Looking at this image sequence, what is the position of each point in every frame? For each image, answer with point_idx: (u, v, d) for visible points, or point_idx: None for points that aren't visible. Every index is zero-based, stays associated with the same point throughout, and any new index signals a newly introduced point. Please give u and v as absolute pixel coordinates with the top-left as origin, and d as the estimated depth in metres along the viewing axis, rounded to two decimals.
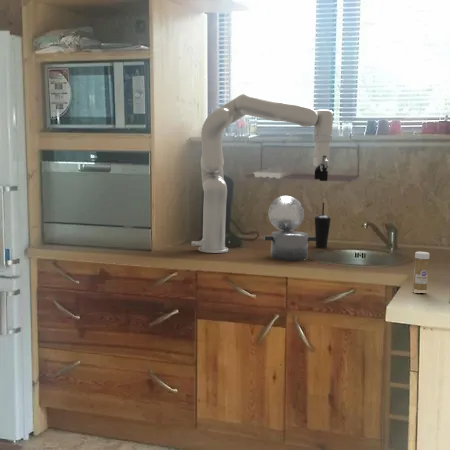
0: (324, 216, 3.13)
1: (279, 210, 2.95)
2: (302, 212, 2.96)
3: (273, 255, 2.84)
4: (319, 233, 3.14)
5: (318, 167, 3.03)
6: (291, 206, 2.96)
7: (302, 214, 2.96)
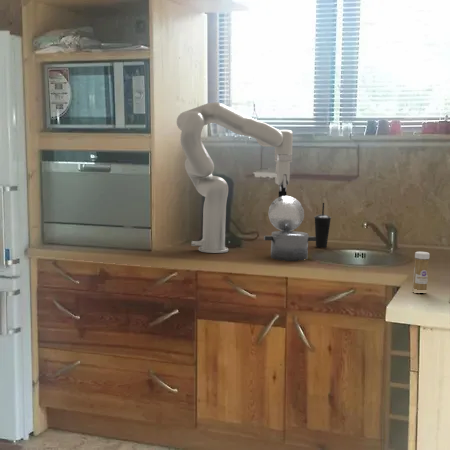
0: (324, 216, 3.13)
1: (279, 210, 2.95)
2: (302, 212, 2.96)
3: (273, 255, 2.84)
4: (319, 233, 3.14)
5: None
6: (291, 206, 2.96)
7: (302, 214, 2.96)
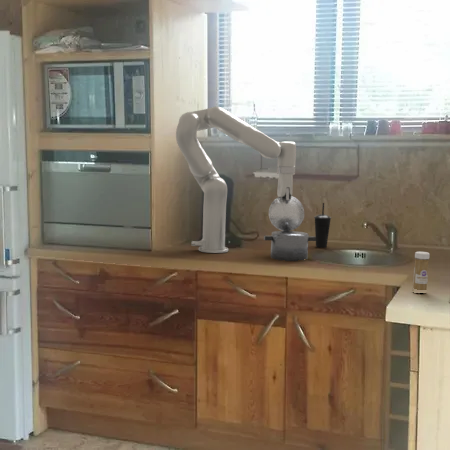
0: (324, 216, 3.13)
1: (279, 210, 2.94)
2: (302, 212, 2.95)
3: (273, 255, 2.84)
4: (319, 233, 3.14)
5: None
6: (292, 206, 2.95)
7: (302, 214, 2.95)
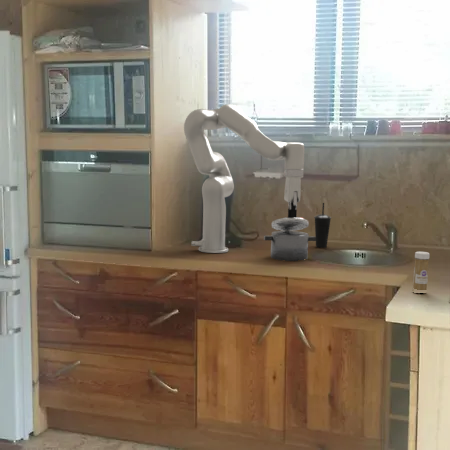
0: (324, 216, 3.13)
1: (283, 224, 2.85)
2: (306, 225, 2.87)
3: (273, 255, 2.84)
4: (319, 233, 3.14)
5: None
6: (297, 223, 2.84)
7: (306, 226, 2.87)
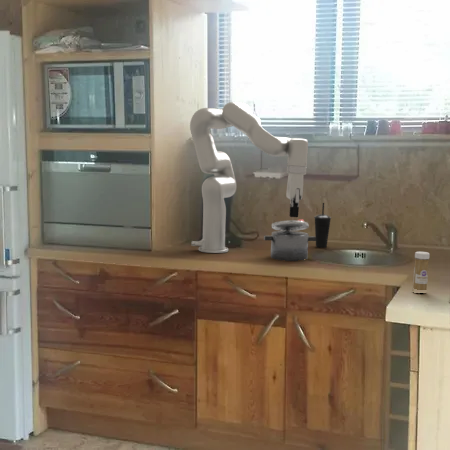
0: (324, 216, 3.13)
1: (283, 226, 2.85)
2: (306, 227, 2.87)
3: (273, 255, 2.84)
4: (319, 233, 3.14)
5: None
6: (297, 225, 2.84)
7: (306, 227, 2.87)
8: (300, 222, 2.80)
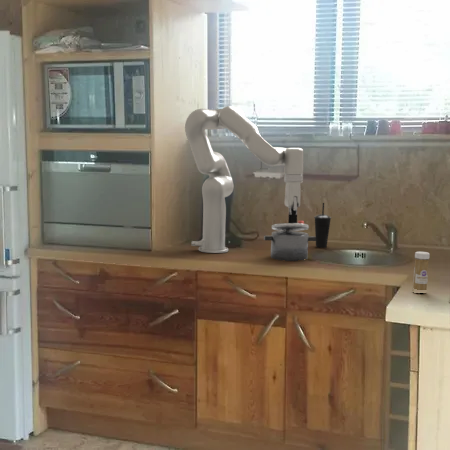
0: (324, 216, 3.13)
1: (283, 228, 2.85)
2: (306, 228, 2.86)
3: (273, 255, 2.84)
4: (319, 233, 3.14)
5: None
6: (297, 227, 2.83)
7: None
8: (300, 224, 2.80)
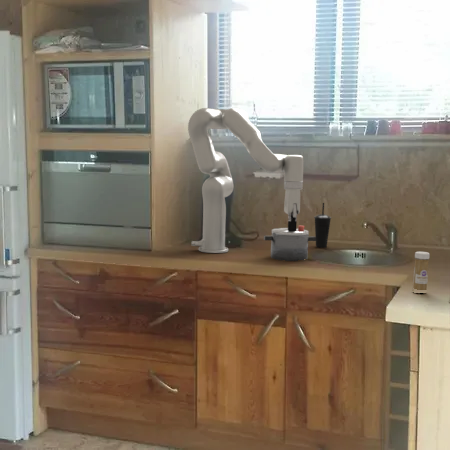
0: (324, 216, 3.13)
1: None
2: None
3: (273, 255, 2.84)
4: (319, 233, 3.14)
5: None
6: None
7: None
8: (300, 234, 2.80)
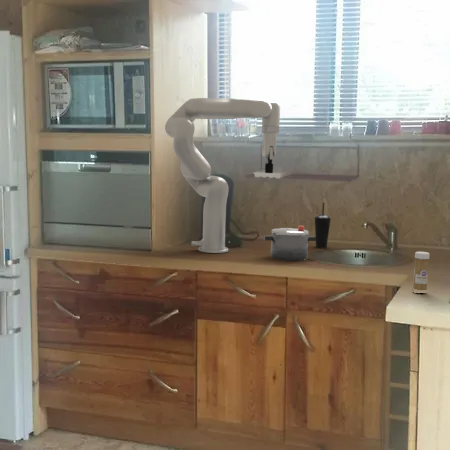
0: (324, 216, 3.13)
1: None
2: None
3: (273, 255, 2.84)
4: (319, 233, 3.14)
5: None
6: None
7: None
8: (300, 234, 2.80)
